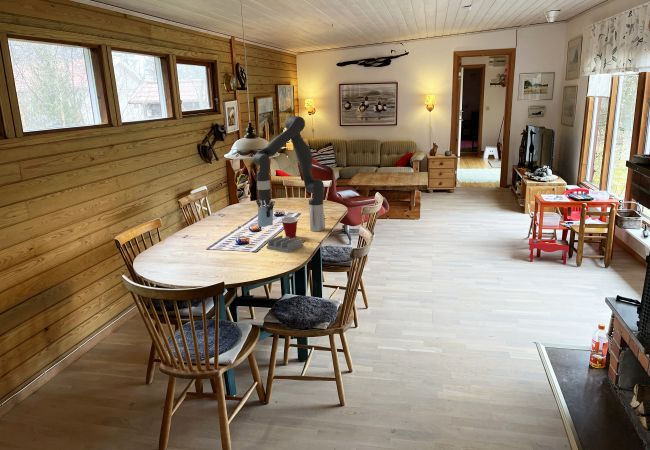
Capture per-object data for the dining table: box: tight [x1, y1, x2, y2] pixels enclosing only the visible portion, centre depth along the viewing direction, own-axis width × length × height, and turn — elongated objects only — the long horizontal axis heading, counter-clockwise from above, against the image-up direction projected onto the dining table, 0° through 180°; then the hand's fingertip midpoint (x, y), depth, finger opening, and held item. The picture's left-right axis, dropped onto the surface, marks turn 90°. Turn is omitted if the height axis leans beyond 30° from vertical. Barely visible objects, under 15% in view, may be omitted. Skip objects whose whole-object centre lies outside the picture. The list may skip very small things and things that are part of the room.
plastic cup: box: [280, 216, 299, 239], centre depth 292 cm, size 11×11×12 cm
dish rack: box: [266, 235, 304, 253], centre depth 274 cm, size 14×16×4 cm
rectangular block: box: [257, 206, 274, 227], centre depth 279 cm, size 10×2×11 cm, turn 144°
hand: (266, 216), depth 280 cm, fingers closed on rectangular block, 2 cm apart
